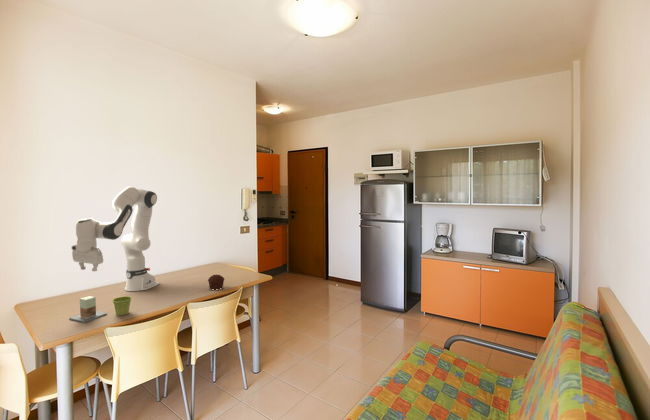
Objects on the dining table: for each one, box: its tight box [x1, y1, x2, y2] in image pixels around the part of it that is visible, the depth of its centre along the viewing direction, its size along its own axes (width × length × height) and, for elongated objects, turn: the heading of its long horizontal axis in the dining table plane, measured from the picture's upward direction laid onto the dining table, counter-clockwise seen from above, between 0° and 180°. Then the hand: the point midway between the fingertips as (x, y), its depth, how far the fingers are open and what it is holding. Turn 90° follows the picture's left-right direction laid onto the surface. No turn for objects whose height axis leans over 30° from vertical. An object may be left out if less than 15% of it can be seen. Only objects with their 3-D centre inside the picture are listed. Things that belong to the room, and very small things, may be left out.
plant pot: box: [112, 295, 133, 317], centre depth 178 cm, size 9×9×9 cm
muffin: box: [207, 274, 225, 291], centre depth 226 cm, size 12×11×10 cm
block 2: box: [79, 305, 97, 318], centre depth 172 cm, size 5×5×5 cm
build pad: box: [69, 310, 108, 324], centre depth 173 cm, size 12×12×1 cm
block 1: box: [79, 295, 97, 309], centre depth 172 cm, size 5×5×5 cm
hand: (88, 270), depth 178 cm, fingers open, 8 cm apart
